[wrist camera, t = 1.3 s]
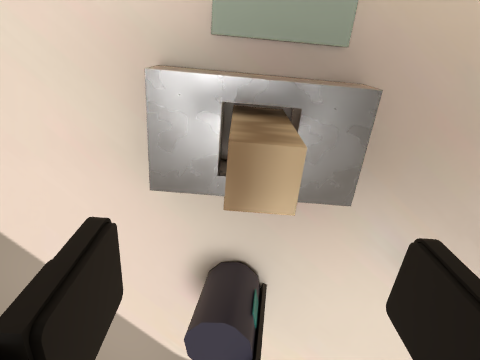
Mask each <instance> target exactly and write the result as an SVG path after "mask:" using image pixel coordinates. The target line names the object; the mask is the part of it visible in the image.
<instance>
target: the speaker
mask: <svg viewBox="0 0 480 360" xmlns="http://www.w3.org/2000/svg"><path fill="white" fill-rule="evenodd" d="M266 287H267V285H266V284H264V283H263V285H262V286H261V287H260V288H259V280H258V276H257V275H256V274H255V273H254V272H253V271H252V270H251V269H250V268H249V267H248V266H247V265H244V264H242V263H239V262H221V263H220V264H218V265H217V266H216V267H214V268H213V269H212V270H210V271H209V274H208V276H207V279H206V282H205V284H204V287H203V290H202V292H201V295H200V298H199V300H198V303H197V306H196V308H195V311H194V314H193V317H192V319H191V322H190V325H189V327H188V330H187V333H186V335H185V338H184V342H185V346H186V350H187V354H188V356H189V357H190V358H191V359H192V360H260V359H261V347H262V335H263V323H264V311H265V299H266Z"/></svg>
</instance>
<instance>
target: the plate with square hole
mask: <svg viewBox="0 0 480 360" xmlns="http://www.w3.org/2000/svg"><path fill="white" fill-rule="evenodd" d="M145 85H146V109H147V133H148V157H149V181H150V190H154V191H167V192H179V193H192V194H204V195H217V196H225V183H226V170H227V160H220V157H221V141H222V125H223V110H224V102H232V103H243V104H254V105H266V106H277V107H288V108H293V111H292V117H291V123H292V125H293V126H294V128H295V129H296V131H297V133H298V134H299V136H300V137H301V139H302V140H303V142H304V144H305V145H306V147H307V152H306V158H305V163H304V168H303V173H302V179H301V184H300V189H299V195H298V200H297V202H304V203H316V204H329V205H341V206H351V204H352V200H353V196H354V193H355V189H356V185H357V182H358V178H359V174H360V171H361V167H362V164H363V160H364V156H365V153H366V149H367V145H368V142H369V138H370V134H371V131H372V127H373V124H374V120H375V116H376V113H377V109H378V105H379V102H380V98H381V94H382V91H383V90H380V89H377V88H374V87H371V86H367V85H364V84H356V83H345V82H334V81H323V80H312V79H302V78H291V77H280V76H269V75H258V74H248V73H237V72H226V71H215V70H205V69H194V68H183V67H172V66H161V65H157V66H153V67H149V68H145Z"/></svg>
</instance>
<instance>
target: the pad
mask: <svg viewBox="0 0 480 360" xmlns="http://www.w3.org/2000/svg"><path fill="white" fill-rule="evenodd" d="M357 4H358V0H213V4H212V27H211V34H216V35H226V36H237V37H247V38H257V39H268V40H278V41H289V42H299V43H309V44H320V45H330V46H340V47H348V46H349V41H350V37H351V32H352V27H353V23H354V18H355V14H356V9H357Z"/></svg>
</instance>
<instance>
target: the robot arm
mask: <svg viewBox="0 0 480 360" xmlns="http://www.w3.org/2000/svg"><path fill="white" fill-rule="evenodd" d="M122 295H123V283H122V273H121V263H120V253H119V243H118V233H117V225H116V224H115V223H111V220H110V219H109V218H99V217H89V218H87V219H86V221H85V222H84V223H83V224H82V225H81V226H80V228H79V229H78V230H77V231H76V232H75V234H74V235H73V236H72V237H71V238H70V239H69V241H68V242H67V243H66V244H65V245H64V246H63V248H62V249H61V250H60V251H59V252H58V254H57V255H56V256H55V257H54V258H53V259H52V260H50V261H49V262H47V263H46V264H45V266H44V267H43V268H42V269H41V270H40V271H39V273H38V274H37V275H36V276H35V277H34V278H33V280H32V281H31V282H30V283H29V284H28V285H27V286H26V287H25V289H24V290H23V291H22V292H21V293H20V294H19V296H18V297H17V298H16V299H15V301H14V302H13V303H12V304H11V305H10V306H9V307H8V308H7V310H6V311H5V312H4V313H3V314H2V315H1V317H0V360H95V359H96V356H97V354H98V352H99V350H100V347H101V345H102V343H103V341H104V338H105V336H106V334H107V331H108V329H109V327H110V324H111V322H112V320H113V318H114V316H115V314H116V311H117V309H118V307H119V305H120V302H121V300H122ZM386 311H387V314H388V316H389V318H390V320H391V322H392V323H393V325H394V327H395V329H396V331H397V332H398V334H399V336H400V338H401V339H402V341H403V343H404V345H405V347H406V348H407V350H408V352H409V354H410V355H411V357H412V359H413V360H480V279H479V278H478V277H477V276H476V275H475V274H474V273H473V272H472V271H471V270H470V269H469V268H468V267H467V266H466V265H464V264H463V263H462V262H461V261H460V260H459V259H458V258H457V257H456V256H455V255H454V254H453V253H452V252H451V251H450V250H449V249H448V248H447V247H446V246H445V245H444V244H443V243H442V242H440V241H439V240H436V239H421V238H419V239H416V240H415V241H414V243H411V244H410V245H409V247H408V250H407V252H406V255H405V257H404V260H403V262H402V265H401V267H400V270H399V273H398V275H397V278H396V280H395V283H394V285H393V288H392V290H391V293H390V295H389V298H388V301H387V303H386Z"/></svg>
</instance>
